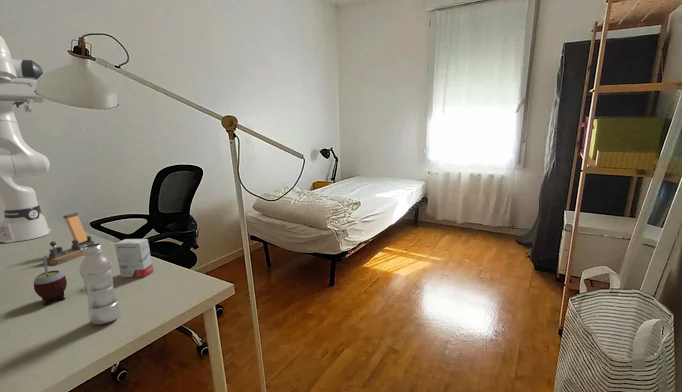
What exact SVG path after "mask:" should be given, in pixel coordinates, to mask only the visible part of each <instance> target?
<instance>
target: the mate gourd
mask: <svg viewBox="0 0 682 392" xmlns="http://www.w3.org/2000/svg"><path fill="white" fill-rule="evenodd" d="M47 257H48V255H44V256H43V258H44V261H43V260H42V263H43V268H44V271H45V272H42V273H39V274H37V276H35V278H34V280H33V289H34V292H35V293H36V295H38V297H40V298H41V299H42V301H43V302H44V303H43V304H42V305H43V306H48V305H49V304H52V303H53V302H56V301H59V302H60V301H65V300H66V297H64V296H65V290H66V289H67V285H68V284H67V283H68V282H67V278H66V275H65V273H64V272H62V271H60V270H57V269H56V270H48V264H47V261H46V258H47Z"/></svg>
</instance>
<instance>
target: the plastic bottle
mask: <svg viewBox="0 0 682 392" xmlns="http://www.w3.org/2000/svg"><path fill="white" fill-rule="evenodd" d="M82 249H83V255H82V256H84V259H83V260H82V261H81V263H80V266H79V273H80V276H81V278H82V281H83V284H84V286H85V287H84V288H85V291H86V294H87V303H88V305H87V306H88V308H87V313H88V314H87V316H88V319H89V321H90V322H91V323H92V324H93V325H97V326H100V325H104V324H109V323H111V322H113V321H115V320H116V319H117V318H118V317H119V316H120V314H121V304H120V302H119V300H118V297H117V294H116V292H115V288H114V287H115V286H114V279H113V262H112V260H111V259H110V258H109V257H108V256H107V255H106V254H104V253H103V252H104V250H103V246H102V244H101V243H96V242H95V243H94V244H89V245H86V246H84V247H82Z"/></svg>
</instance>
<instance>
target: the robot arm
mask: <svg viewBox="0 0 682 392" xmlns="http://www.w3.org/2000/svg"><path fill="white" fill-rule="evenodd" d="M42 74H44V71H43V69H42V67H41V65H39V64H38V63H37V62H35V61H34V60H32V59H14V58H12V55H11V51H10V49H9V47H8V44H7V42H6V41H5V39H4V38H3V37H2V36H1V35H0V149H4V150H6V151H8V152H9V153H8V154H7V153H3V154H0V195H1V198H2V200H3V204H4V208H5V209H4V210H2V212H3V214H4V219H3V220H1V222H0V243H3V242H4V243H3V244H11V243H16V242H23V241H28V240H29V241H30V240H33V239H38V238H41V237H44V236H45V237H46V236H47V235H49V234H50V232H51V231H52V229H51V228H49V226H48V223H47V221H46V218H45V216H44V215H43V214H42V210H41V209H42V208H41V206H40V204H39V203H38V198H37V194H36V191H35V189H34V188H32V187H30V186H28V185H24V184H20V183H17V182H15V181H14V179H18V178H28V177H37V176H40V175H45V174H46V173H48V172H49V170H50V168H51V163H50V160H49V158H48V156H46V155H44V154H43V153H41V152H38V151H36V150H34V149H33V148H32V147H30V146H29V145H28V144H27V143H26V142H25V140H24V138H23V135H22V134H21V130H20V128H19V123H18V121H17V118H16V115H15V113H14V111H13V106H14V105H15V106H16V108H17V109H19V108H20V106H22V105H23V104H25V103H26V104H25V105H24V112H25V113H32V107H33V105H34V103H44V102H45V100H46V98H45V99H43V98H41V97H39V96H37V95H36V94H35V92H34V91H35V88H36V83H37V79H38V78H39V77H40V76H41V75H42ZM44 75H45V74H44Z"/></svg>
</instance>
